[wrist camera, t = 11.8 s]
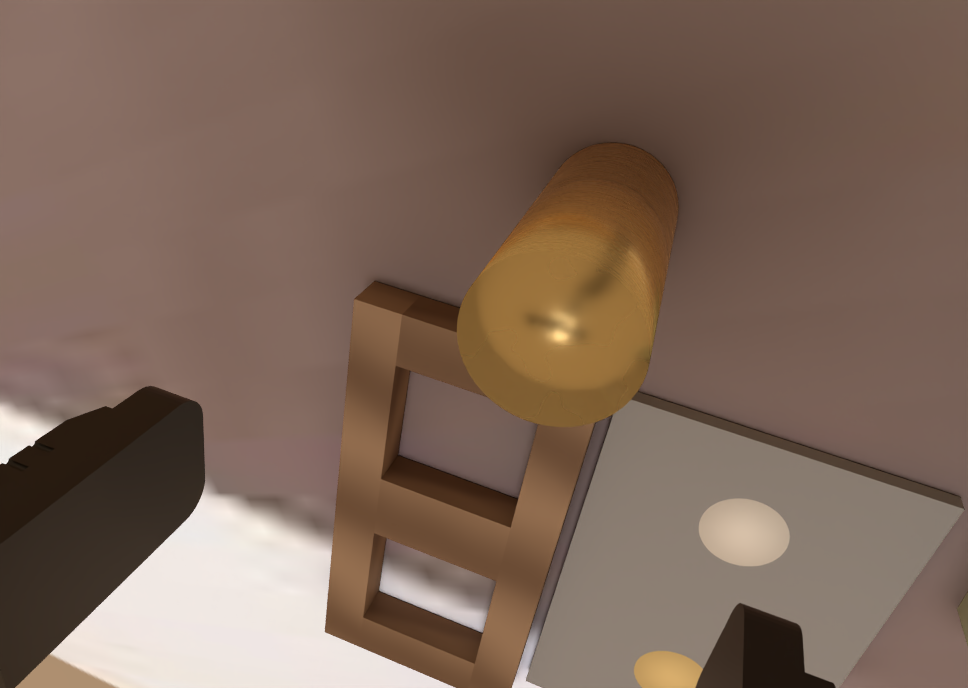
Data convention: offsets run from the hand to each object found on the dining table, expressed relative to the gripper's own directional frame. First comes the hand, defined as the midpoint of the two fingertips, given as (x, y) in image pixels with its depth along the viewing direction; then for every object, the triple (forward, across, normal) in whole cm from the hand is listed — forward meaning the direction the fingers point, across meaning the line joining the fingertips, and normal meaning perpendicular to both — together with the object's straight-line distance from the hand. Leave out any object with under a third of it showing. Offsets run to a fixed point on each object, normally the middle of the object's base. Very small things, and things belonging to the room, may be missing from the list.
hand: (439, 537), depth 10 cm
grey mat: (+15, -7, +14) cm, 21 cm away
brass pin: (+15, 0, 0) cm, 15 cm away
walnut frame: (+15, +3, +14) cm, 20 cm away
